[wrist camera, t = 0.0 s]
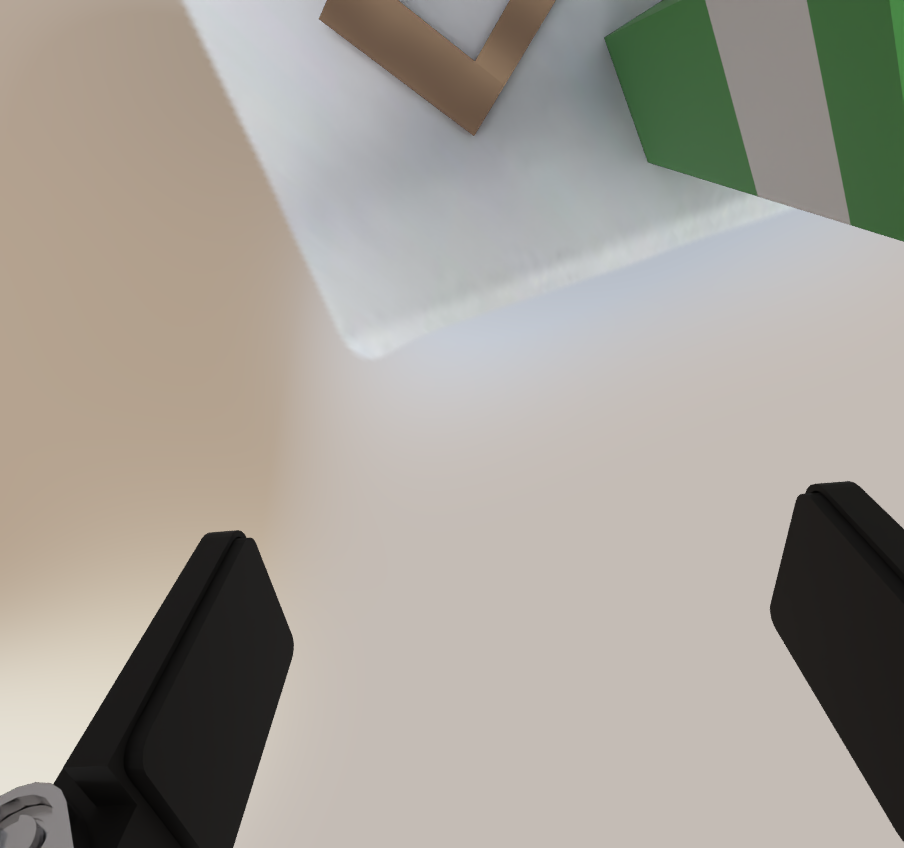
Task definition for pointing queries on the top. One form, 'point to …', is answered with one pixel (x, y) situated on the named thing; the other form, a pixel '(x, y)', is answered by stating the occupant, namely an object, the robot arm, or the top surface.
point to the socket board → (439, 52)
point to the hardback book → (775, 100)
